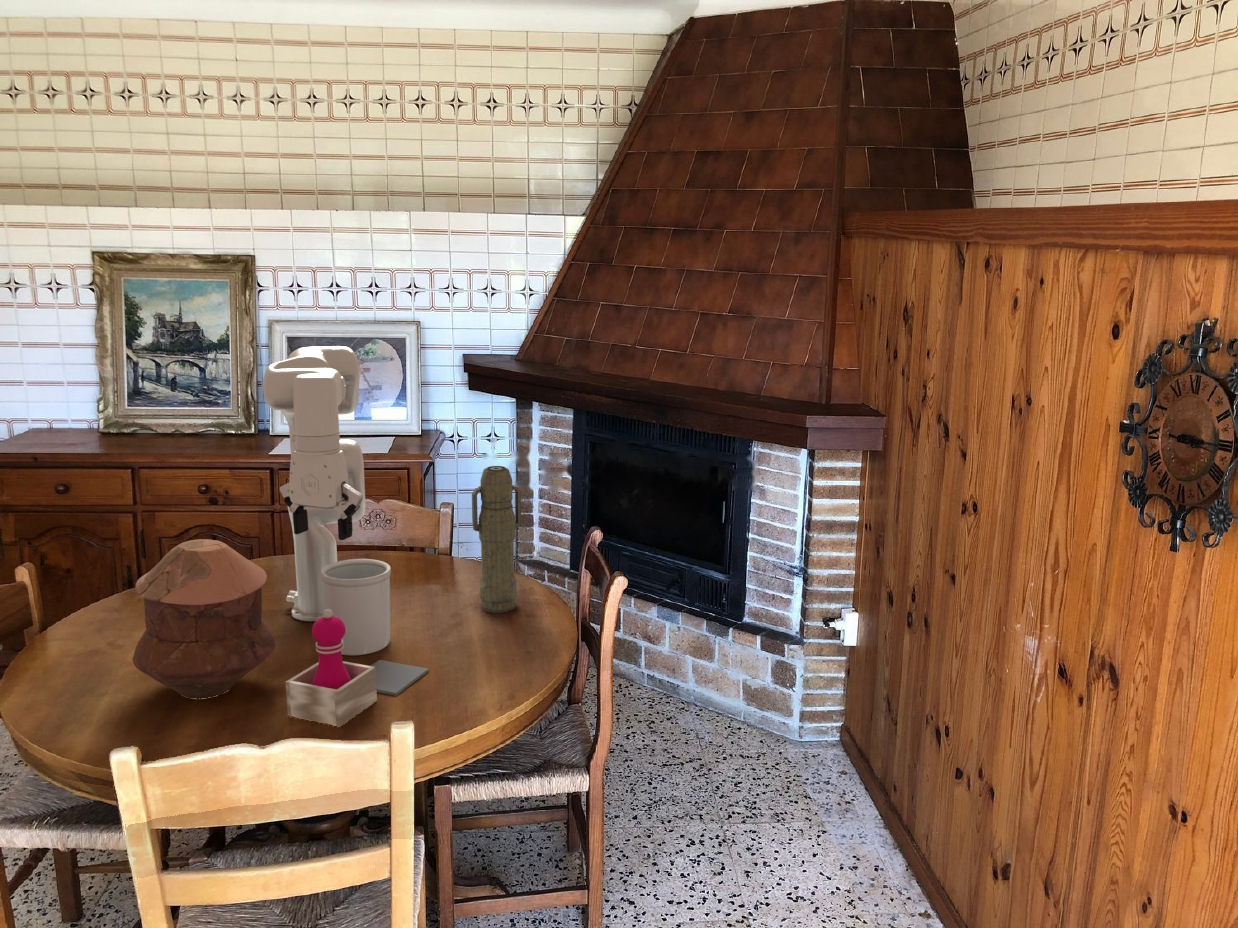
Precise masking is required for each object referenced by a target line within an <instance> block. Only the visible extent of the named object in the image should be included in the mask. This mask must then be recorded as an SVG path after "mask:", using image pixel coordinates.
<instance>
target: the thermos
mask: <svg viewBox="0 0 1238 928" xmlns="http://www.w3.org/2000/svg"><path fill="white" fill-rule="evenodd" d="M479 480H480V481H479V482H480V486H478V487H475V488H474V490H473V492H472V493H471V519H472V530H473V531H475V532H478V538H479V540H480V553H481V557H480V558H481V577H480V579H479V598H480V608H481V610H483V611H484V610H485V612H487V613H494V614H495V613H497V614H500V613H507V612H510V611H513V610H514V609H516V607H517V602H516V601H517V600H516V599H517V589H518V588H517V579H516V576H515V547H514V546H515V542H514V541H515V539H516V530H517V528H518V527H520V525H522V491H521V489H520V488H519V487H518V486H517V485H515V484H513V478H512V475H511V472H510V469H509V468H508V467H506V466H502V465H491V466H487V467H486V468H484V469H483V471H482V474H481V477H480V479H479ZM513 491H515V492H514V493H515V494H514V496H515V497H514V498H515V500H514V502H515V513H514V510H513V509H514V508H513V506H514V505H513V499H514V498H513ZM479 493H480V501H481V505H480V512H479V516H478V495H479ZM515 606H516V607H515ZM509 610H510V611H509Z"/></svg>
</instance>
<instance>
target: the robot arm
mask: <svg viewBox="0 0 1238 928" xmlns="http://www.w3.org/2000/svg"><path fill="white" fill-rule="evenodd" d="M360 374H361V373H360V363H359V360H358V357H357V355H356V353H355V352H354V351H353V349H352V348H351V347H348V346H344V345H343V346H341V345H336V346H335V345H333V346H305V347H299V348H297V349H295V350H294V351H292V352H291V353H290V354H289V356H288V357H287V359H285V360H281V361H277V362H274V363H272V364H269V365H267V367H266V369H265V371H264V375H263V383H262V384H263V385H262V386H263V387H262V388H263V397H264V400H265V402H266V404H267V406H268V407H269V408H270V409H272V410H274V411H280V412H281V413H282V415H283V416H284V418H285V420H286V422H287V425H288V429H289V433H288V434H289V446H290V465H289V466H290V467H289V482H287V483H286V484H284V485H282V486H280V487H279V492H280V493H281V495H282V497H283V501H284V503H285V504H286V505H287V510H288V515H289V518H290V524H291V528H292V537H293V549H294V563H295V565H294V566H295V578H296V590H289V591H288V593H287V596H286V597H285V600H286V602H290V603H294V606H293V607H292V609H291V616H292V618H294V619H296V620H299V621H303V622H316V621H317V620H318V619H319V618H321V617H324V616H323V612H324V604H323V584H322V579H321V569H322V568H323V567H325V566H326V565H329V564H331V563H334V562H338V552H337V541H336V538H335V537H334V535H333V533H331V531H330V530H328V528H327V527H325V525H330V524H337V534H338V535H337V536H338V540H339V541H344V540H348V539H349V538H351V537H353V522H358V521H359V520H362V518H363V517H364V515H365V511H366V489H365V487H366V486H365V485H366V484H365V463H364V462H365V461H364V456H363V451H362V448H361V446H360V444H359V443H358V442H357V441H356V440H354V439H347V438H346V439H343V438H342V439H340V422H339V421H340V420H339V415H341V416H343V415H349V414H352V413H353V412H355V411H356V409H357V408H358V405H359V396H360V393H359V391H360V376H361V375H360Z"/></svg>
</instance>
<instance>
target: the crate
mask: <svg viewBox="0 0 1238 928" xmlns="http://www.w3.org/2000/svg"><path fill="white" fill-rule="evenodd" d="M342 661H343V660H342ZM343 664H344V666H345V668H346V670H347V672H348V674H349V676H350V679H351V681H349V682H348V683H346V684H345V685H343V686H342V687H340V688H339V689H337V690H336V689H331V688H326V687H321V686H316V685H312V684H313V679H314V677H315V675H316V672H317V669H318V665H319V661H318V662H316V663H314V664H313V665H311V666H310V667H308V668H307V669H304V670H302V672H299V673H298V674H296V675H294V676H293V677H291V678H289V679H288V680H286V681H285V692H286V705H287V706H286V707H287V708H286V709H287V716H288V715H289V716H294V717H298V718H302V719H309V720H314V721H318V722H322V723H328V724H331V725H333V726H332V727H334V726H337V727H336V728H339V727H340V728H342V727H343V726H344V725H346V724H348V723H349V722H350V721H351V720H352V718H353V719H354V718H355V717H357V716H358V715H359V714H361V713H362V712H364V711H365V710H366V709H368V708H369V707H370V706H372V705H373V704H375V703H376V702H378V694H377V693H378V692H377V690H376V669H375V667H372V666H371V665H366V664H360V663H355V662H349V661H343ZM374 702H375V703H374ZM364 709H365V710H364ZM363 710H364V711H363ZM357 714H358V715H357ZM356 715H357V716H356ZM350 719H351V720H350ZM349 720H350V721H349ZM348 721H349V722H348ZM345 723H346V724H345ZM343 724H344V725H343ZM342 725H343V726H342ZM341 726H342V727H341Z"/></svg>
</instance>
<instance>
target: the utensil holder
mask: <svg viewBox="0 0 1238 928" xmlns="http://www.w3.org/2000/svg"><path fill="white" fill-rule="evenodd" d="M391 572H392V568H391V566H390V564H389V563H387V562H385V561H382V560H378V559H374V558H373V559H370V558H352V559H343V560H337V562H334V563H331V564H329V565H326V566H325V567H323V568H322V569H321V579H322V584H323V604H324V610H326V609H330V610H331V611H332V612H333V615H332V616H336V617H338V618H340V619H341V620H342V621H343V622H344V624H345V629H346V631H345V635H344V637H343V638H342V640H343V646H344V647H343V649H342V651H341V655H342V656H362V655H368V654H372V653H376V652H379V651H381V650H383V649H385V648H386V647H387V646H388V645H389V644H390V642H391V581H390V580H391V578H390V576H391Z"/></svg>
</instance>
